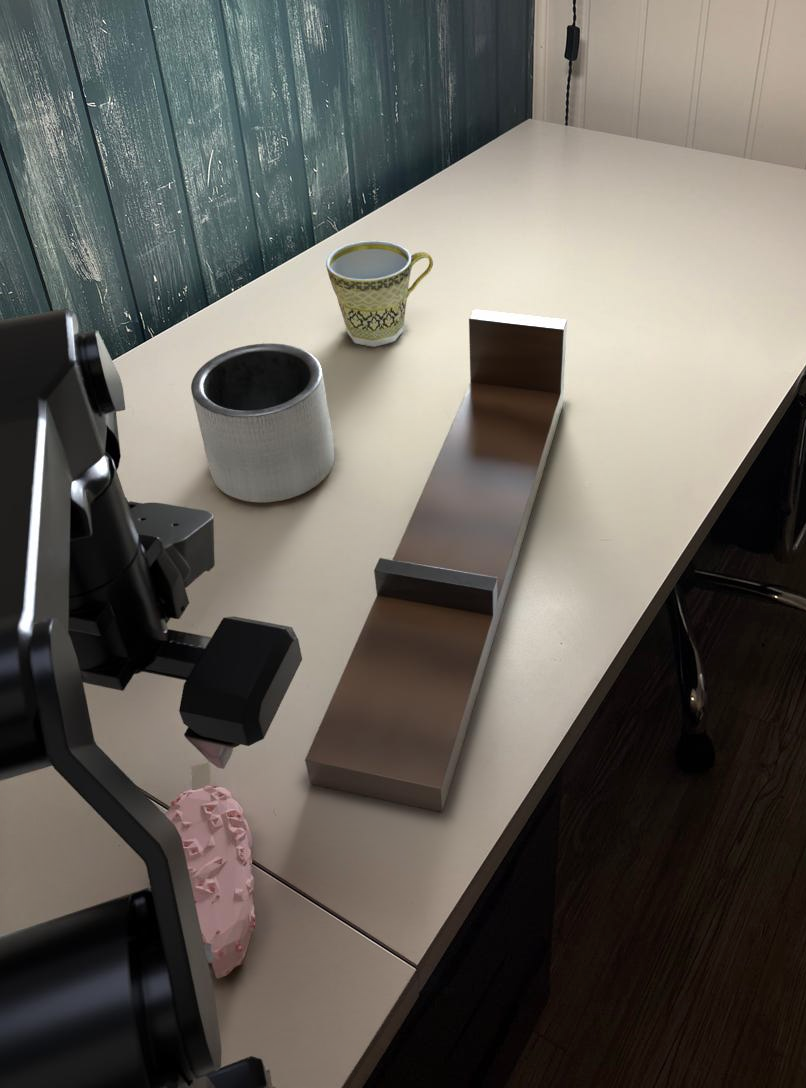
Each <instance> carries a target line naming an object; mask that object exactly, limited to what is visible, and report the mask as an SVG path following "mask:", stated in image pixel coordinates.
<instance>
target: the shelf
mask: <svg viewBox="0 0 806 1088" xmlns="http://www.w3.org/2000/svg"><path fill="white" fill-rule="evenodd" d="M567 327H568V320H567V319H561V318H552V317H544V316H534V315H526V314H518V313H509V312H500V311H490V310H482V309H472V312H471V313H470V316H469V318H468V333H469V335H468V339H469V343H468V344H469V378H470V379H469V381H470V382H469V384H468V387H467V388H466V391H465V394H464V396H463V397H462V400H461V402H460V405H459V407H458V410H457V412H456V413H455V417H454V418H453V420H452V423H451V426H450V428H449V430H448V433H447V434H446V436H445V439H444V441H443V444H442V446H441V449H440V451H439V453H438V455H437V458H436V460H435V462H434V464H433V467H432V469H431V470H430V474H429V476H428V478H427V480H426V483H425V485H424V487H423V489H422V491H421V493H420V496H419V499H418V501H417V503H416V505H415V508H414V510H413V513H412V514H411V517H410V519H409V521H408V524H407V525H406V527H405V530H404V533H403V535H402V537H401V540H400V541H399V544H398V547H397V549H396V551H395V553H394V556H393V558H392V559H389V558H382V557H379V558H378V561H377V563H376V565H375V567H374V569H373V574H374V583H375V590H376V597H375V599H374V601H373V603H372V606H371V608H370V611H369V612H368V615H367V617H366V620H365V622H364V623H363V626H362V628H361V630H360V633H359V636H358V638H357V640H356V642H355V644H354V647H353V649H352V651H351V654H350V656H349V658H348V661H347V663H346V665H345V668H344V670H343V672H342V674H341V677H340V679H339V682H338V684H337V685H336V687H335V691H334V693H333V695H332V697H331V700H330V702H329V704H328V706H327V709H326V711H325V713H324V716H323V718H322V720H321V722H320V725H319V726H318V729H317V731H316V734H315V736H314V738H313V741H312V743H311V745H310V748H309V749H308V752H307V754H306V757H305V759H304V761H305V766H306V770H307V771H306V772H307V775H308V780H309V783H310V784H311V785H317V786H321V787H324V788H325V787H326V788H330V789H334V790H340V791H344V792H348V793H353V794H358V795H361V796H367V797H371V798H374V799H375V798H376V799H379V800H380V799H381V800H385V801H389V802H394V803H398V804H403V805H408V806H412V807H417V808H421V809H425V810H430V811H435V812H440V813H443V812H444V808H445V804H446V802H447V799H448V795H449V792H450V789H451V785H452V781H453V778H454V774H455V772H456V768H457V765H458V761H459V758H460V754H461V751H462V747H463V744H464V740H465V737H466V734H467V731H468V728H469V724H470V720H471V718H472V714H473V710H474V707H475V703H476V700H477V697H478V693H479V690H480V687H481V683H482V681H483V677H484V673H485V669H486V666H487V663H488V659H489V656H490V653H491V650H492V646H493V643H494V640H495V635H496V633H497V630H498V627H499V626H498V625H499V623H500V620H501V616H502V612H503V609H504V606H505V602H506V599H507V596H508V592H509V589H510V585H511V582H512V578H513V575H514V572H515V568H516V564H517V562H518V558H519V555H520V551H521V548H522V544H523V541H524V537H525V534H526V531H527V528H528V525H529V521H530V518H531V514H532V511H533V508H534V504H535V501H536V498H537V494H538V490H539V487H540V484H541V480H542V477H543V473H544V470H545V467H546V463H547V460H548V457H549V454H550V453H549V452H550V450H551V446H552V444H553V441H554V436H555V433H556V430H557V427H558V423H559V419H560V416H561V413H562V410H563V406H564V388H565V387H564V386H565V384H564V383H565V368H566V367H565V366H566V347H567V329H568V328H567Z"/></svg>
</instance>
